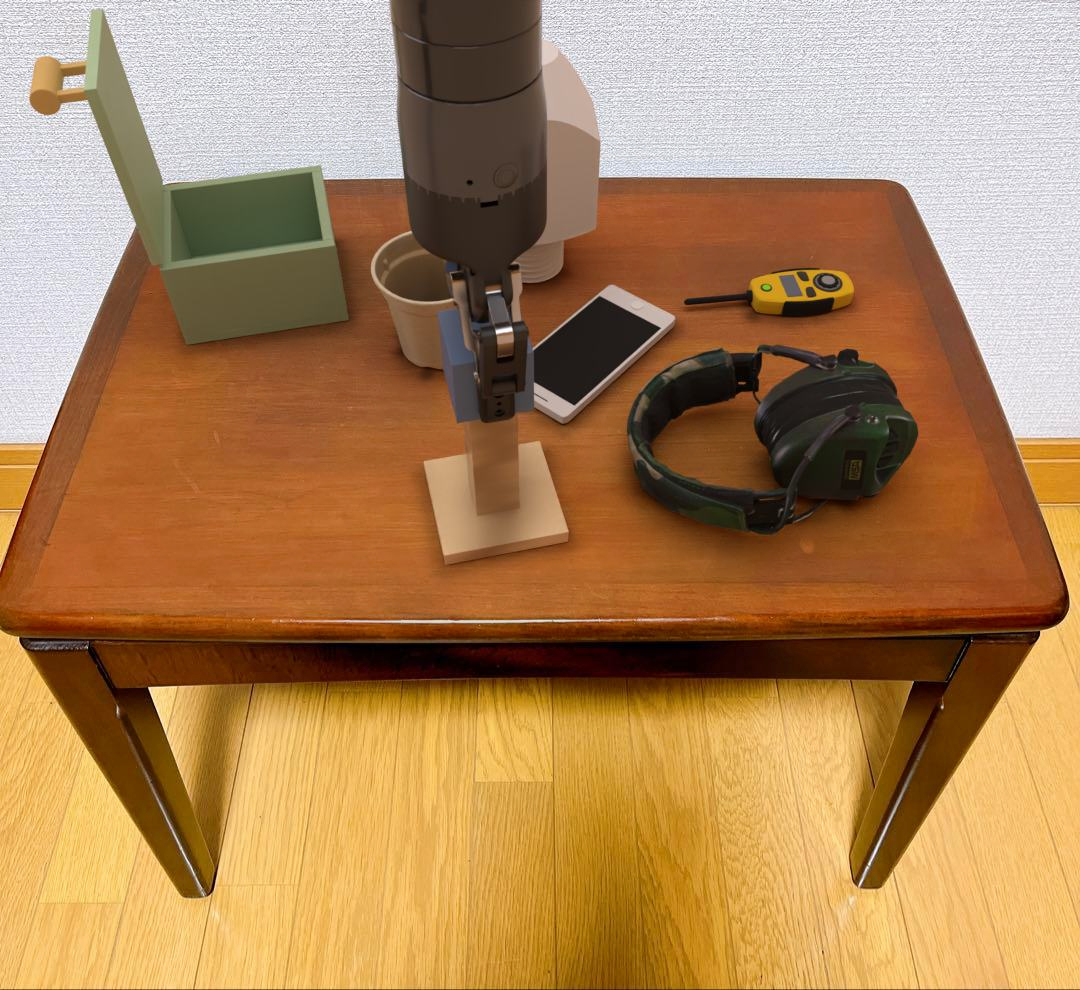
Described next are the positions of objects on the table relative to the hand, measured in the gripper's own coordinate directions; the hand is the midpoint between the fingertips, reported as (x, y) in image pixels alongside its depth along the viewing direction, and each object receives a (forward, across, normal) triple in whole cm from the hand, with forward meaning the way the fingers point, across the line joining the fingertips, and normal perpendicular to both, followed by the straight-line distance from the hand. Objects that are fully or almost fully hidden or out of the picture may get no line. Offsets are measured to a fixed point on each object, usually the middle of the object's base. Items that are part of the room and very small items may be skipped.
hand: (487, 384), depth 65 cm
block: (0, 0, 0) cm, 0 cm away
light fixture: (+13, -27, +9) cm, 31 cm away
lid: (-3, -29, -22) cm, 36 cm away
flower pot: (+13, -18, -1) cm, 22 cm away
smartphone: (+13, -14, +11) cm, 22 cm away
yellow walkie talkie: (+13, -17, +28) cm, 35 cm away
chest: (+12, -29, -15) cm, 35 cm away
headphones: (+13, +1, +20) cm, 24 cm away
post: (+12, 0, 0) cm, 12 cm away
